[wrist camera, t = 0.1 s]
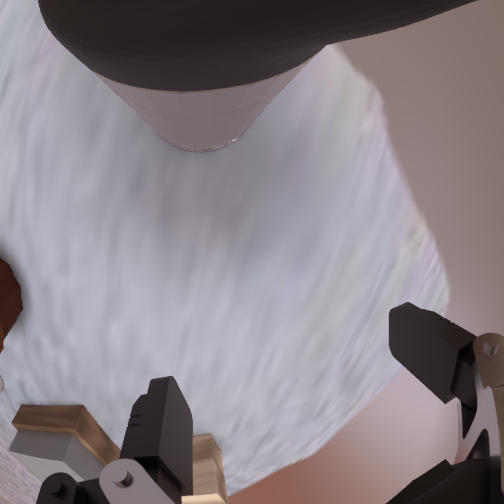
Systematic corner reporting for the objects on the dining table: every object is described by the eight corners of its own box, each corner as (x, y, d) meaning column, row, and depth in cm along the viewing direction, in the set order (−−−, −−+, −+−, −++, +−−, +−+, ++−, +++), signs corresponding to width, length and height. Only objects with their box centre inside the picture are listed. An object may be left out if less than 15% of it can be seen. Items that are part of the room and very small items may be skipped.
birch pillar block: (176, 438, 31) (175, 496, 21) (210, 433, 31) (216, 493, 22) (189, 455, 32) (191, 509, 23) (220, 451, 33) (228, 505, 23)
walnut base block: (22, 402, 27) (11, 422, 22) (84, 403, 28) (74, 428, 23) (68, 456, 31) (62, 475, 26) (130, 459, 32) (127, 482, 27)
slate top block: (19, 428, 22) (8, 450, 17) (72, 433, 23) (63, 461, 19) (64, 473, 26) (58, 495, 21) (119, 479, 27) (116, 504, 22)
